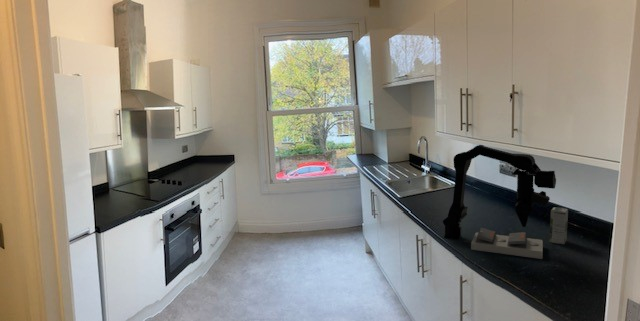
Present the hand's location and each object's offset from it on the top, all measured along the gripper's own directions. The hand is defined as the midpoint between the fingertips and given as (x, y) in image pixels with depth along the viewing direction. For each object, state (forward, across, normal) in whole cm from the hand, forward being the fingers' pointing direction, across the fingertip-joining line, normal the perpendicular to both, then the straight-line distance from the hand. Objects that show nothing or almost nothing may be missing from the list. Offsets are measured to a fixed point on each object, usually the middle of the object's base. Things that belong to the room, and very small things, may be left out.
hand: (524, 223), depth 153 cm
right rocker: (+7, 0, +2) cm, 8 cm away
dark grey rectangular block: (+7, 0, +14) cm, 16 cm away
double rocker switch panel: (+11, 0, +8) cm, 14 cm away
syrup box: (+12, +16, -12) cm, 24 cm away
